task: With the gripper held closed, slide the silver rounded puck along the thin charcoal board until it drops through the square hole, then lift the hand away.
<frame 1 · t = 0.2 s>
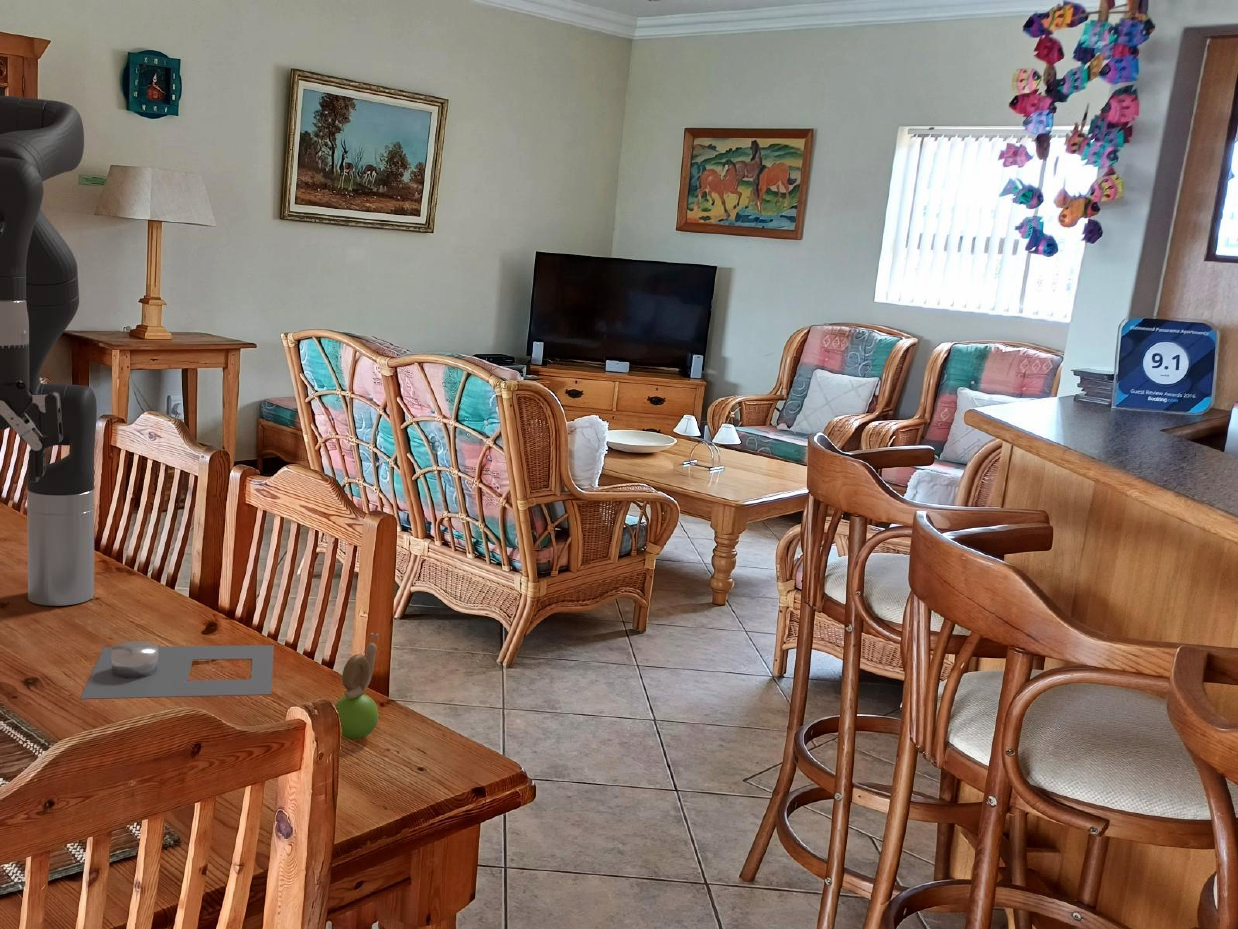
green toy figure: (356, 737, 137), on the table
silver rounded puck: (134, 670, 147), point 1 cm above the table, touching charcoal board
charcoal board: (184, 680, 149), on the table
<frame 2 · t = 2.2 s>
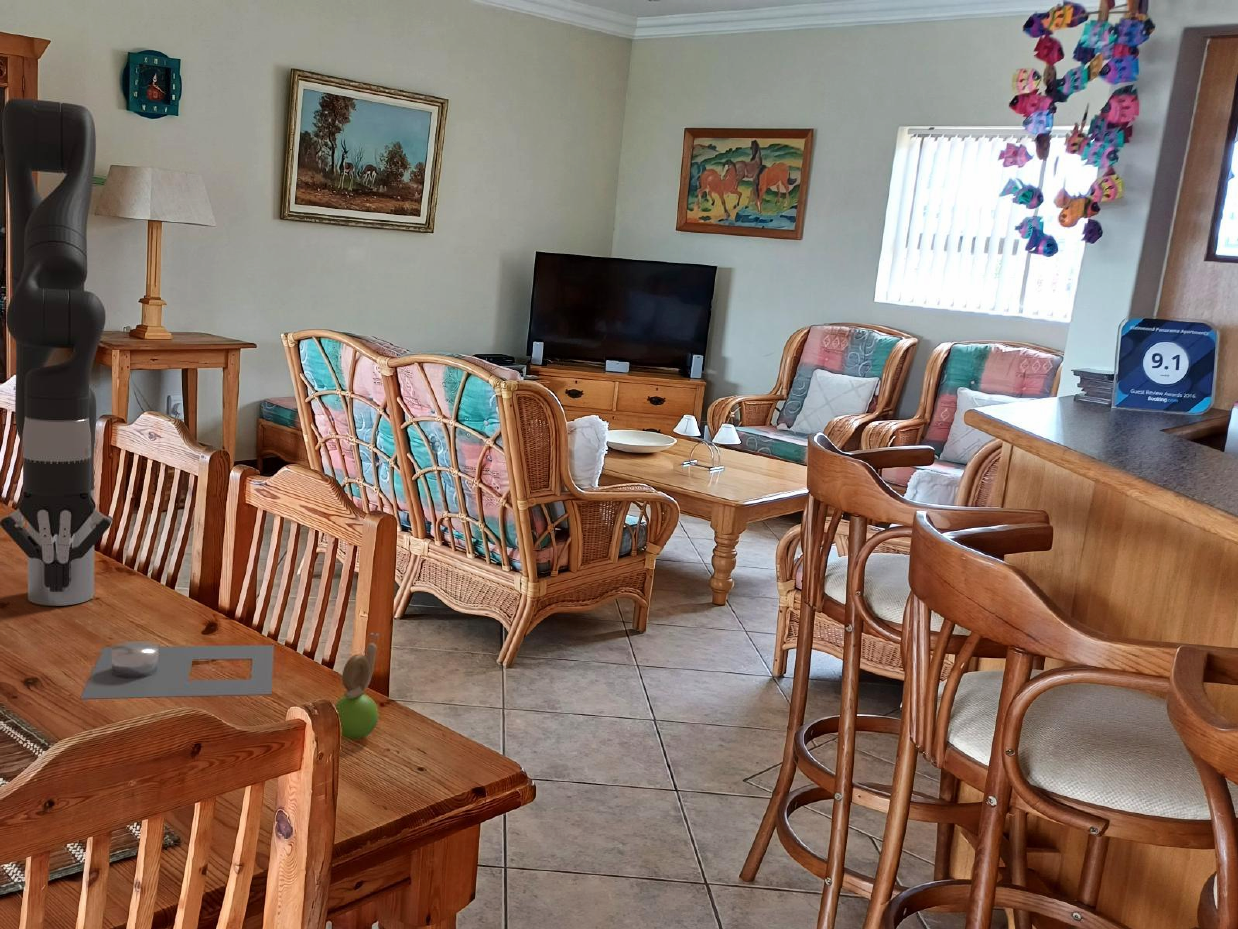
hand: (57, 590, 143), 12 cm above the table, fingers closed
nothing on the table moved.
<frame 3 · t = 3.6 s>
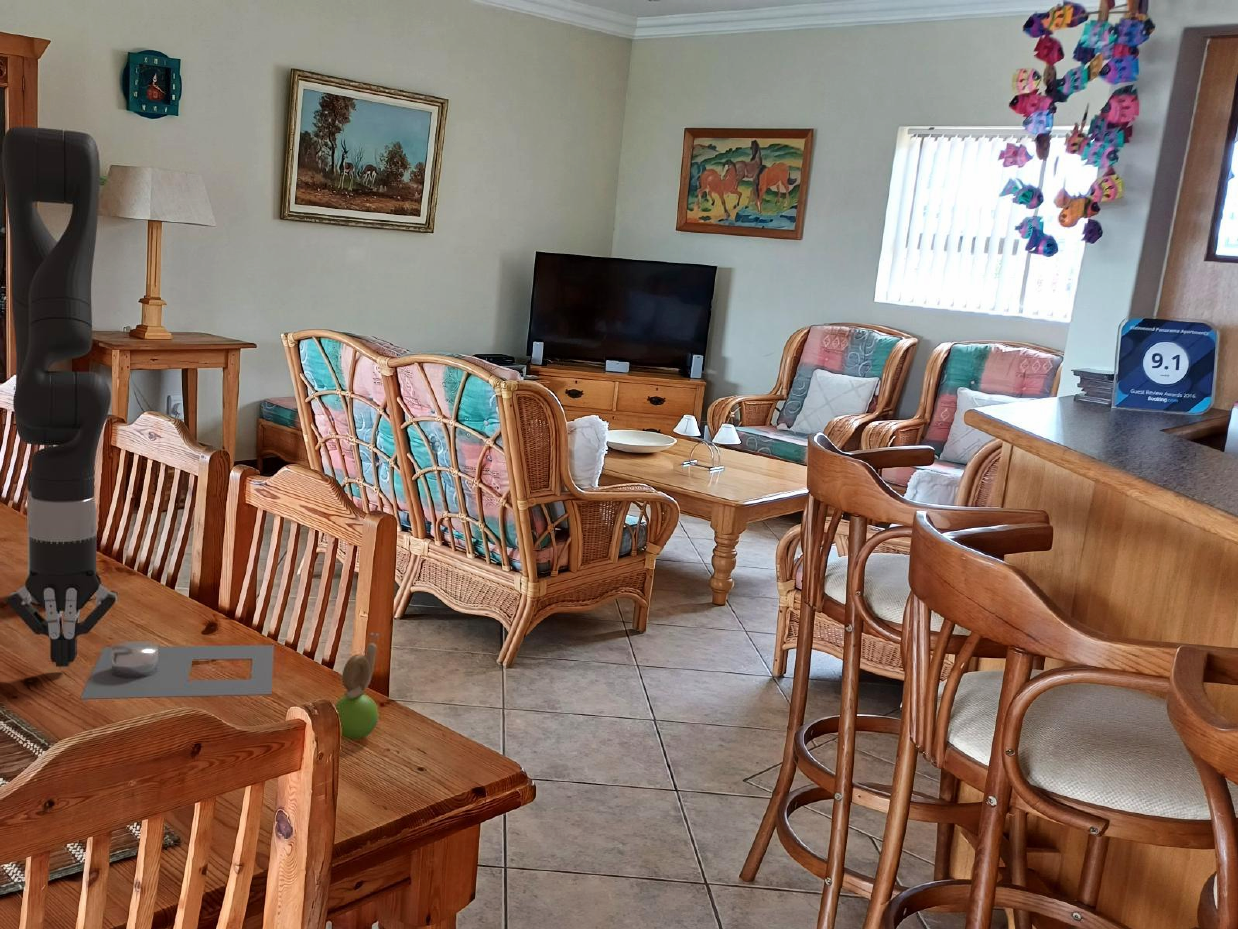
hand: (63, 664, 145), 3 cm above the table, fingers closed
nothing on the table moved.
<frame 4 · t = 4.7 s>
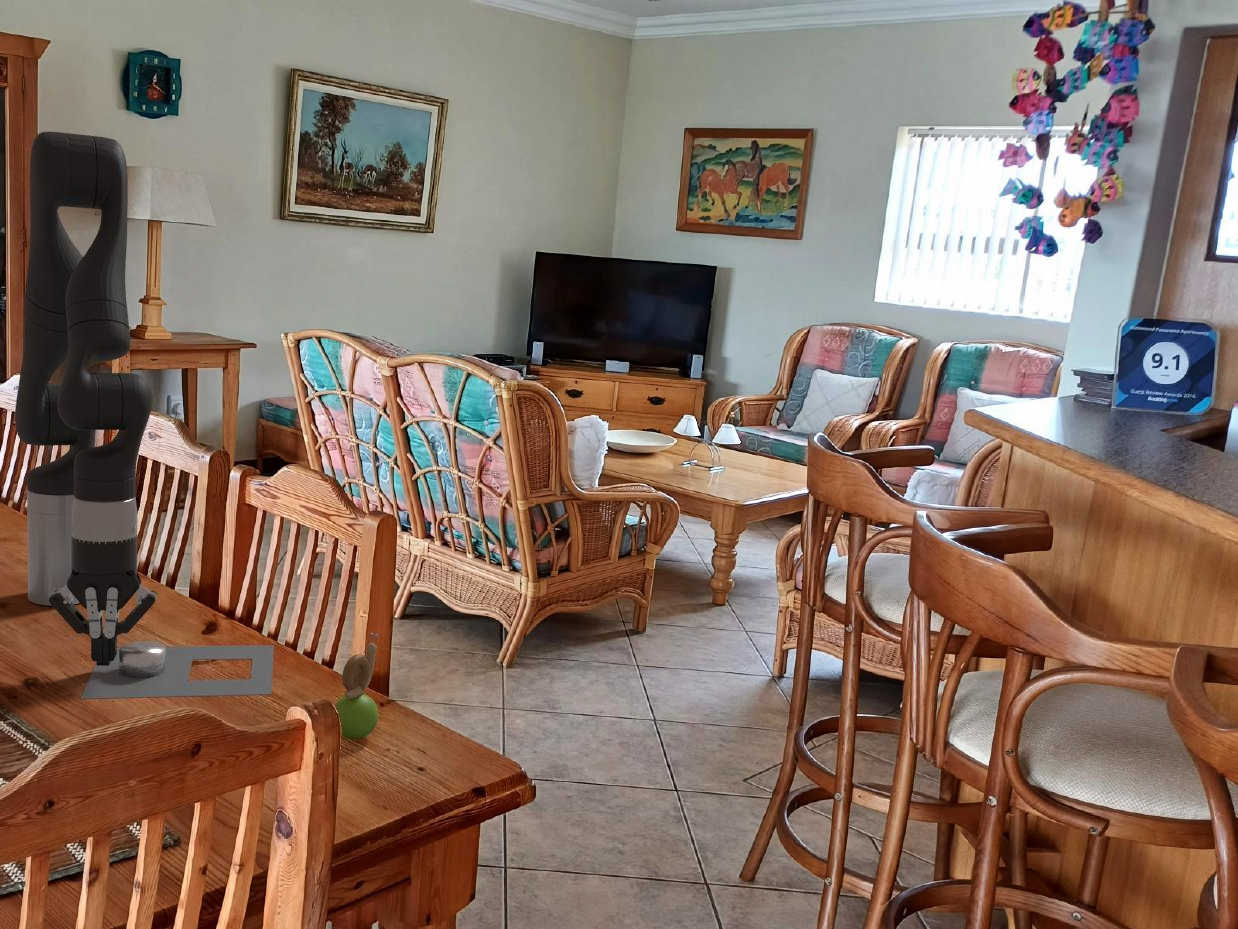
hand: (103, 663, 146), 3 cm above the table, fingers closed
silver rounded puck: (142, 670, 148), point 2 cm above the table, touching charcoal board, gripper
everything else where it was.
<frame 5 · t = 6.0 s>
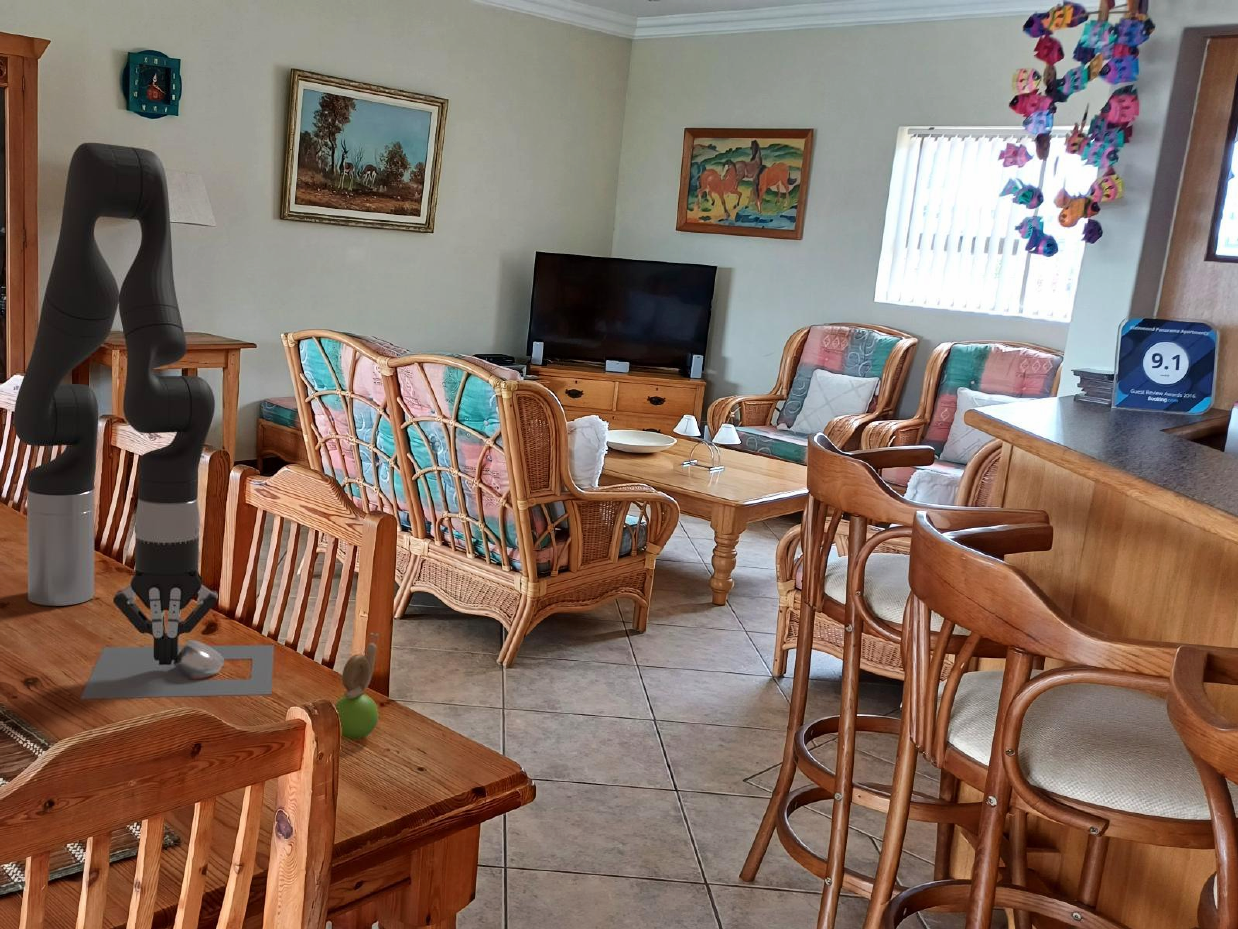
hand: (165, 662, 148), 3 cm above the table, fingers closed
silver rounded puck: (193, 671, 149), point 1 cm above the table, tilted 30°, touching gripper
everything else where it was.
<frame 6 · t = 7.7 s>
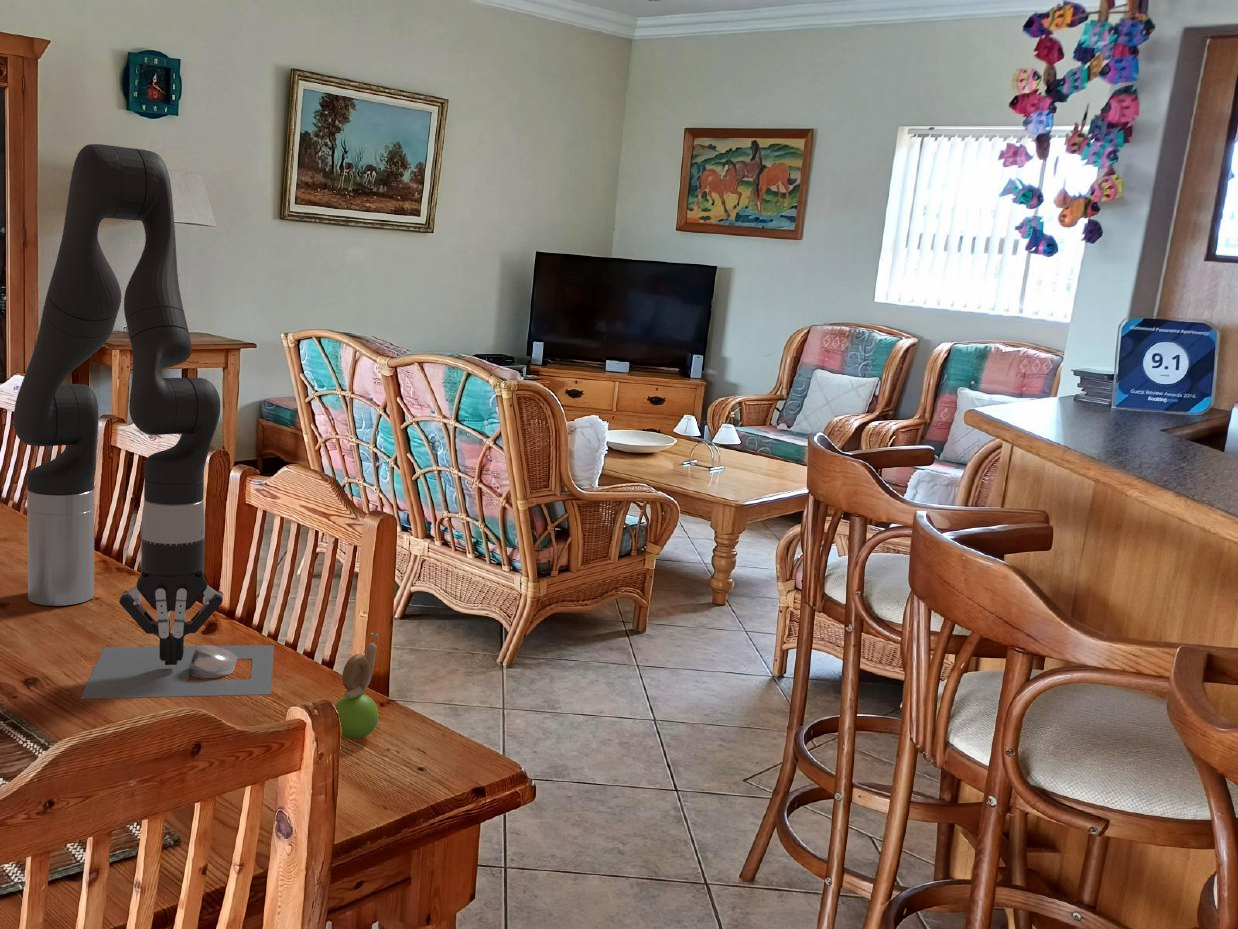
hand: (171, 663, 149), 2 cm above the table, fingers closed
silver rounded puck: (208, 675, 150), point 1 cm above the table, tilted 17°, touching charcoal board
everything else where it was.
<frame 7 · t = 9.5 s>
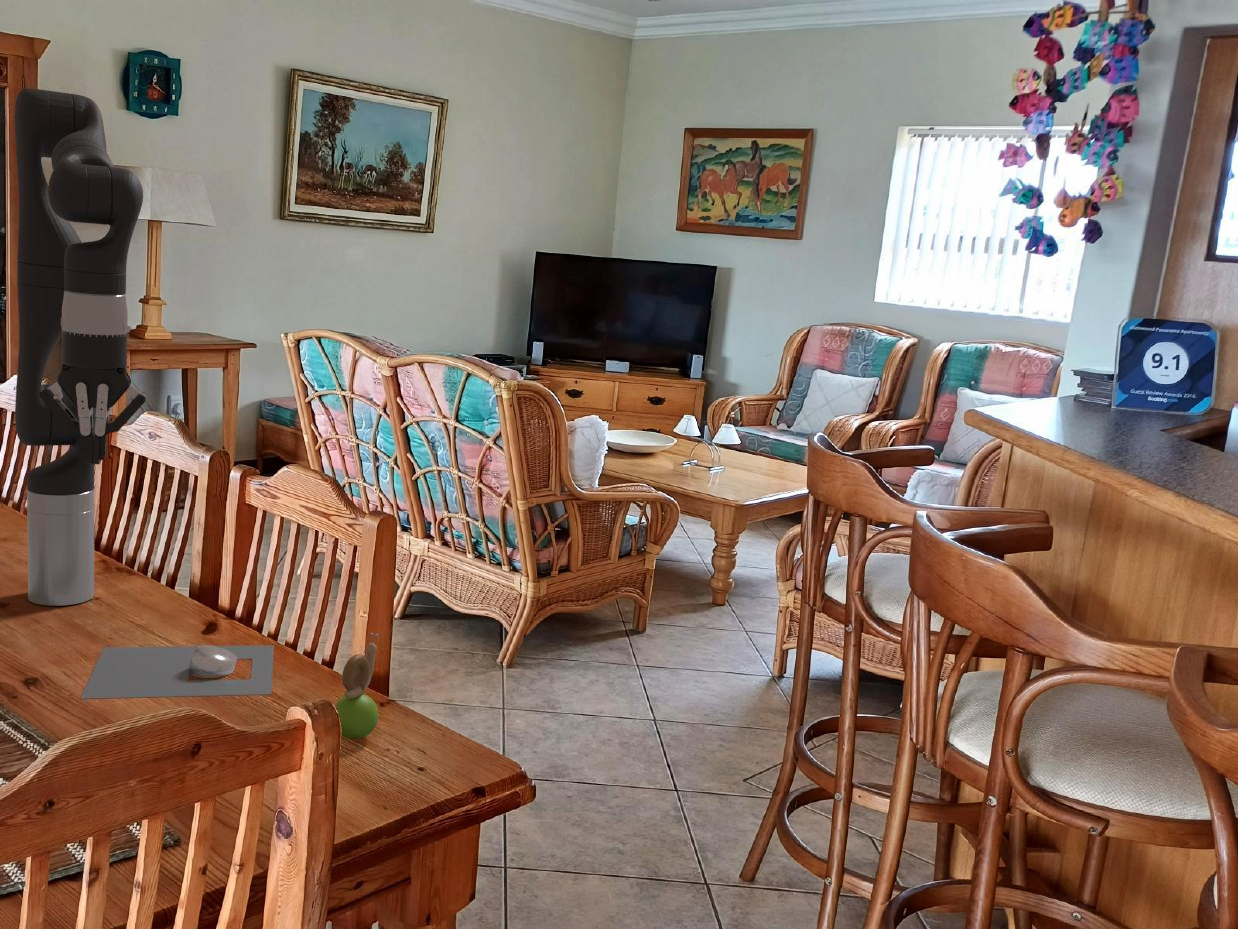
hand: (93, 462, 147), 27 cm above the table, fingers closed
nothing on the table moved.
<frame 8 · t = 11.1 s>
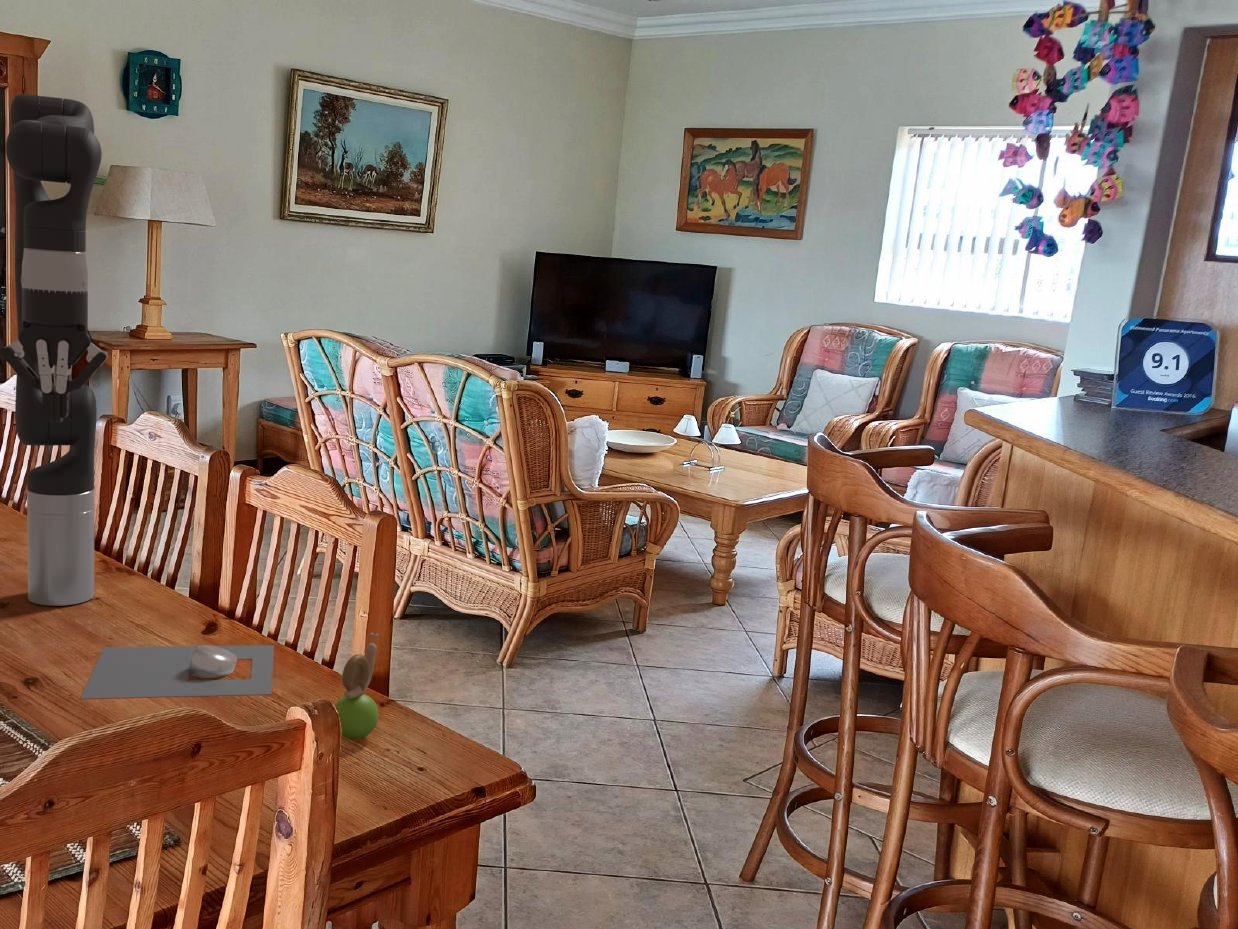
hand: (55, 421, 149), 32 cm above the table, fingers closed
nothing on the table moved.
at the end: silver rounded puck 1.5 cm from the target spot on the charcoal board, point 0.8 cm above the charcoal board's base; silver rounded puck touching charcoal board, table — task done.
